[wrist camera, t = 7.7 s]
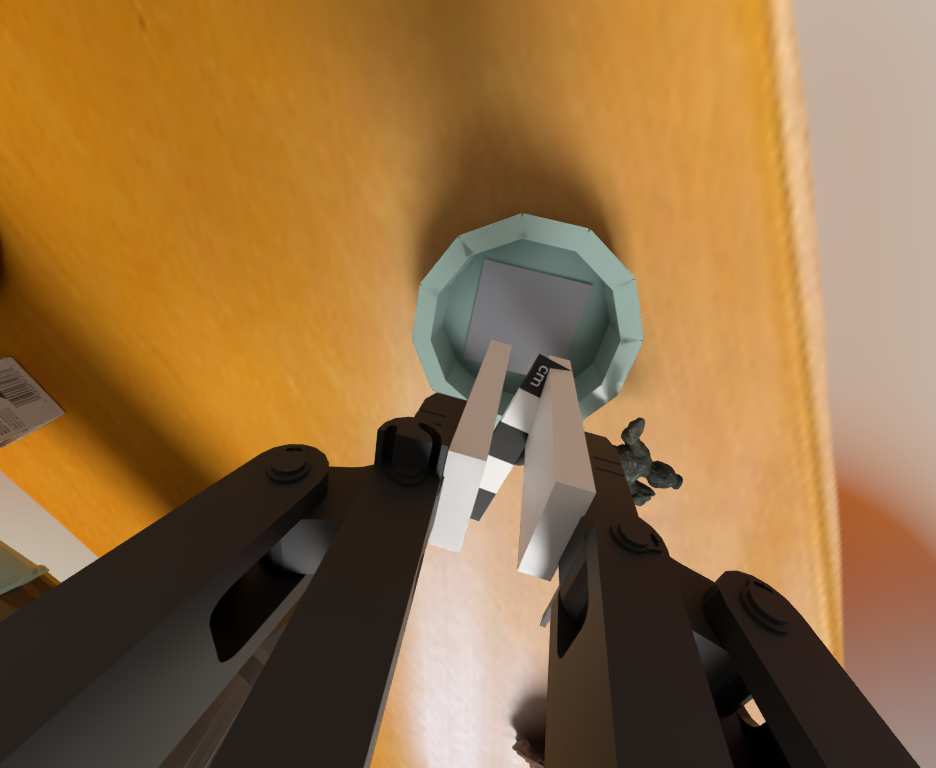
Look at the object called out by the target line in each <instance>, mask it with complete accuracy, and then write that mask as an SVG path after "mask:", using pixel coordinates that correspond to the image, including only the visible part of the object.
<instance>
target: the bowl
mask: <svg viewBox="0 0 936 768" xmlns="http://www.w3.org/2000/svg"><path fill="white" fill-rule="evenodd" d="M634 278H635V277H634V276H633V275H632V274H631V273H630V272H629V270H628V269H627V268H626V267H625V266H624V265H623V264H622V263H621V262H620V261H619V260H618V258H617V257H616V256H615V255H614V254H613V253H612V252H611V251H610V250H609V249H608V248H607V246H606V245H605V244H604V243H603V242H602V241H601V240H600V239H599V238H598V237H597V236H596V235H595V233H594V232H593V231H592V230H591V229H589V228H585V227H581V226H577V225H573V224H568V223H564V222H560V221H556V220H551V219H547V218H543V217H538V216H534V215H530V214H526V213H521V214H518V215H515V216H512V217H509V218H507V219H504V220H501V221H498V222H495V223H492V224H490V225H487V226H484V227H481V228H478V229H476V230H473V231H470V232H467V233H464V234H462V235H459V236H458V237H457V238H456V239H455V240H454V242H453V243H452V244H451V245H450V247H449V248H448V249H447V250H446V252H445V253H444V254H443V255H442V257H441V258H440V259H439V260H438V262H437V263H436V264H435V265H434V267H433V268H432V269H431V270H430V272H429V273H428V274H427V275H426V277H425V278H424V279H423V280H422V282H421V283H420V285H419V291H418V299H417V306H416V313H415V320H414V328H413V335H412V339H413V340H412V342H413V344H414V347H415V349H416V352H417V354H418V357H419V359H420V362H421V364H422V367H423V369H424V372H425V374H426V377H427V379H428V382H429V385H430V387H431V388H432V387H433V388H432V390H433V391H434V392H436V393H437V392H438V393H442V394H446V395H449V396H453V397H456V398H460V399H464V400H467V401H468V399H469V396H470V394H471V391H472V388H473V386H474V383H475V381H476V378H477V376H478V373H479V370H480V368H481V365H482V363H483V360H484V357H485V355H486V352H487V350H488V347H489V345H490V342H491V340H493V341H497V342H501V343H505V344H508V345H512V347H511V352H510V356H509V361H508V366H507V370H506V375H505V379H504V384H503V389H502V393H501V398H500V403H499V407H498V412H497V417H496V421H495V426H494V429H495V428H496V426H497V424H498V423H499V421H500V419H501V418H502V416H503V414H504V413H505V411H506V409H507V407H508V406H509V404H510V402H511V401H512V399H513V397H514V396H515V394H516V392H517V391H518V389H519V387H520V385H521V384H522V382H523V380H524V379H525V377H526V375H527V374H528V372H529V370H530V369H531V367H532V365H533V363H534V362H535V360H536V358H537V357H538V355H539V353H540V354H541V355H543V356H545V357H547V358H548V357H549V355H551V356H554V357H558V358H562V359H566V360H570V363H571V368H572V373H573V378H574V383H575V388H576V393H577V398H578V403H579V408H580V413H581V419H582V420H584V419H585V418H587V417H588V416H589V415H591V414H592V413H594V412H595V411H596V410H598V409H599V408H600V407H602V406H603V405H605V404H606V403H607V402H609V401H610V400H612V399H613V398H614V397H616V396H617V395H618V394H617V393H620V391H621V388H622V386H623V384H624V382H625V380H626V378H627V376H628V374H629V371H630V369H631V367H632V365H633V363H634V361H635V359H636V357H637V354H638V352H639V350H640V348H641V346H642V344H643V340H644V337H643V330H642V322H641V315H640V307H639V300H638V292H637V285H636V279H634Z"/></svg>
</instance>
